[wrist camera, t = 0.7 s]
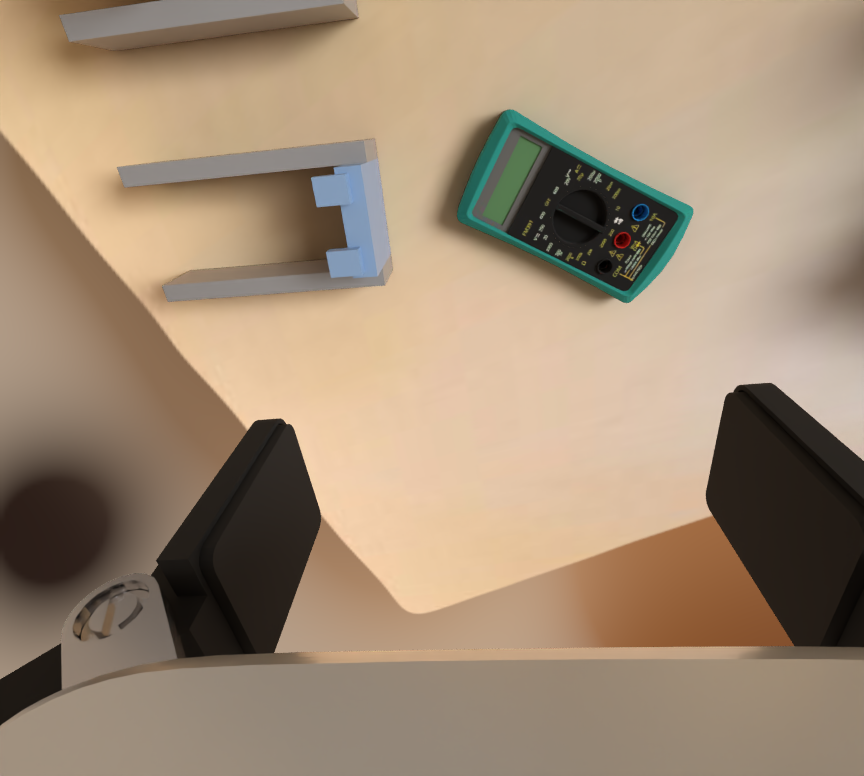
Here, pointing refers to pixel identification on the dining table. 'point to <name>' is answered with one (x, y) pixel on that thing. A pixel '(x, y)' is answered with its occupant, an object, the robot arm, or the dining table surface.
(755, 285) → the dining table surface
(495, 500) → the dining table surface
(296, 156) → the grey parallel walls
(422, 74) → the dining table surface
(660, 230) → the digital multimeter
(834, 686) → the robot arm
